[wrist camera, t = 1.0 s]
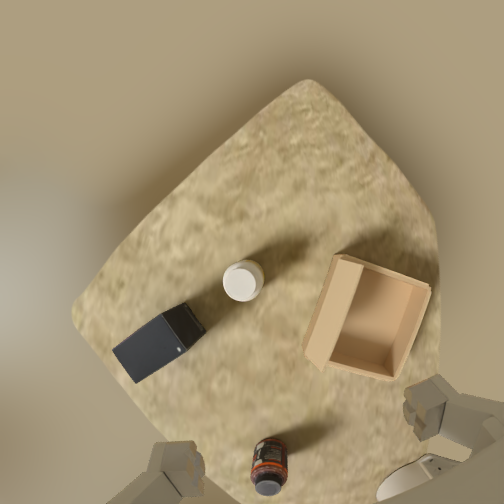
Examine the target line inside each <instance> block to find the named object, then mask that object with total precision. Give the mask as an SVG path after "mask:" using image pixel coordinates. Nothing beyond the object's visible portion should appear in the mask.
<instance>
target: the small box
mask: <svg viewBox="0 0 504 504" xmlns="http://www.w3.org/2000/svg"><path fill="white" fill-rule="evenodd" d="M205 333H206V330H205V329H204V328H203V327H202V325H201V324H200V323H199V321H198V320H197V319H196V317H195V315H194V314H193V313H192V311H191V309H190V308H189V307H188V306H187V305H186V303H182V304H180V305H178V306H176V307H173V308H171V309H169V310H167V311H165V312H163V313H161V314H159V315H158V316H156V317H155V318H154V319H152V320H151V321H149V322H148V323H146V324H145V325H144V326H142V327H141V328H139V329H138V330H137V331H135V332H134V333H133V334H132V335H130V336H129V337H128V338H126V339H125V340H124V341H122V342H121V343H120V344H119V345H117V346H116V347H115V348H113V349H112V351H113V353H114V354H115V356H116V357H117V359H118V360H119V362H120V363H121V364H122V366H123V367H124V369H125V370H126V371H127V373H128V374H129V376H130V377H131V378H132V380H133V381H134V382H135V384H136V383H138V382H140V381H141V380H143V379H145V378H146V377H148V376H149V375H151V374H153V373H154V372H156V371H157V370H159V369H160V368H162V367H164V366H165V365H167V364H168V363H170V362H171V361H173V360H175V359H176V358H178V357H179V356H181V355H182V354H184V353H185V352H187V351H188V350H189V349H190V348H191V347H192V346H193V345H194V344H195V343H196V341H197V340H199V339H200V338H201V337H202V336H203V335H204V334H205Z"/></svg>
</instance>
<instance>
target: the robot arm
mask: <svg viewBox="0 0 504 504" xmlns="http://www.w3.org/2000/svg"><path fill="white" fill-rule="evenodd" d="M404 397H405V398H406V400H405V402H404V403H403V413H404V417H405V419H406V421H407V423H408V424H409V425H412V426H414V430H413V432H414V433H415V435H416V436H417V438H418V439H419V441H420V442H421V441H424V440H426V439H428V438H430V437H433V436H435V435H437V434H439V435H441V436H443V437H445V438H447V439H450V440H452V441H454V442H457V443H459V444H461V445H463V446H466V447H468V448H470V449H473V450H472V452H471V455H470V457H469V459H467V460H466V461H464V462H458V461H455V460H451V459H448V458H444V457H441V456H438V455H434V454H431V453H428V454H426V455H424V456H423V457H421V458H420V459H419V460H417V461H416V462H414V463H411V464H409V465H406V466H404V467H402V468H400V469H399V470H397V471H395V472H394V473H392V474H391V475H390V476H389V477H388V478H386V479H385V480H384V482H383V483H382V484H381V485H380V487H379V489H378V491H377V500H378V502H377V503H374V504H504V402H499V401H494V400H490V399H485V398H481V397H476V396H472V395H468V394H459V393H458V392H457V391H456V390H455V389H454V388H453V387H452V386H451V385H450V384H449V383H448V382H447V381H446V380H445V379H444V378H443V377H442V376H441V375H440V374H436V375H434V376H432V377H430V378H428V379H425V380H423V381H421V382H419V383H416V384H414V385H412V386H409V387H407V388H405V390H404ZM196 450H197V446H196V444H195V442H194V441H192V440H191V441H175V442H156V443H155V444H154V445H153V449H152V453H151V457H150V460H149V464H148V468H147V472H143V473H142V474H140V476H138V477H137V478H136V479H135V480H134V481H133V482H131V483H130V484H129V485H128V486H127V487H125V488H124V489H123V490H122V491H121V492H120V493H118V494H117V495H116V496H115V497H114V498H112V499H111V500H110V501H109V502H107V503H106V504H179V502H180V501H181V500H182V497H197V496H203V494H204V482H203V480H202V479H201V478H202V477H203V476H204V475H205V463H204V460H203V457H202V455H201V453H199V452H197V451H196Z"/></svg>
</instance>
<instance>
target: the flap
mask: <svg viewBox="0 0 504 504" xmlns="http://www.w3.org/2000/svg"><path fill="white" fill-rule="evenodd" d="M363 267H364V266H363V265H360V264H356V263H353V262H349V261H345V260H342V259H338V262H337V265H336V268H335V271H334V274H333V277H332V280H331V283H330V286H329V289H328V292H327V295H326V297H325V300H324V303H323V306H322V308H321V311H320V314H319V317H318V319H317V322H316V325H315V327H314V330H313V332H312V335H311V338H310V340H309V343H308V345H307V348H306V350H305V353H304V354H305V355H306V356H307V357H308V358H309V359H310V360H311V361H312V362H313V364H314V365H315V366H316V367H317V368H318V369H319V370H320V371H321V372H323V373H324V371H325V368H326V366H327V364H328V361H329V359H330V357H331V354H332V352H333V349H334V347H335V344H336V342H337V339H338V337H339V334H340V332H341V329H342V327H343V324H344V321H345V319H346V316H347V313H348V311H349V308H350V305H351V302H352V300H353V297H354V294H355V291H356V288H357V285H358V282H359V279H360V276H361V273H362V270H363Z"/></svg>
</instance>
